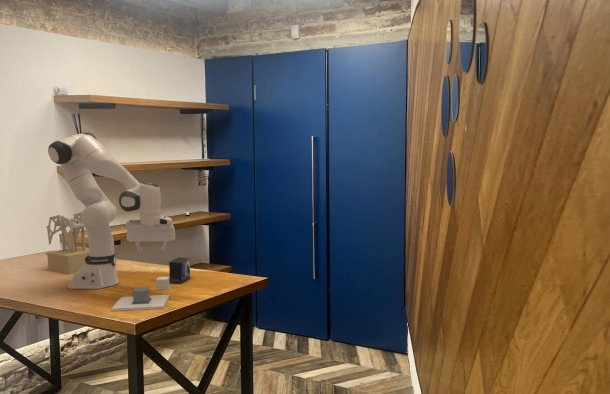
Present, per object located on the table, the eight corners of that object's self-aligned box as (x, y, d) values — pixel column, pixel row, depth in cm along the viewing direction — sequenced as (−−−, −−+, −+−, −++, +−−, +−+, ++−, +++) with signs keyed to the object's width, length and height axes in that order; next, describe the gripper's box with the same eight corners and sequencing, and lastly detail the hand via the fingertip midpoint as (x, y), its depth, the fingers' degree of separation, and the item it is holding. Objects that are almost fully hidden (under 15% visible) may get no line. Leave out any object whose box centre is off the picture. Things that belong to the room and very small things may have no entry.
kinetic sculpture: (104, 267, 269) (101, 213, 266) (70, 275, 252) (67, 217, 249) (77, 262, 282) (74, 210, 279) (43, 270, 265) (39, 214, 262)
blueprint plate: (111, 311, 194) (111, 308, 194) (121, 299, 210) (121, 296, 210) (163, 308, 196) (163, 305, 196) (169, 296, 212) (169, 294, 212)
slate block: (133, 303, 200) (132, 291, 200) (136, 299, 205) (135, 287, 205) (147, 302, 201) (146, 290, 200) (149, 298, 206) (149, 286, 206)
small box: (181, 283, 233) (180, 262, 232) (169, 283, 235) (168, 261, 234) (191, 278, 244) (190, 257, 243) (179, 277, 245) (178, 257, 244)
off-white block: (156, 290, 223) (156, 279, 222) (158, 287, 228) (158, 277, 227) (167, 290, 223) (167, 279, 223) (169, 287, 228) (169, 276, 228)
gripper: (124, 221, 208) (124, 253, 209) (173, 220, 210) (173, 252, 211) (127, 218, 214) (128, 250, 216) (175, 218, 216) (176, 249, 218)
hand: (151, 251), depth 214 cm, fingers open, 8 cm apart
